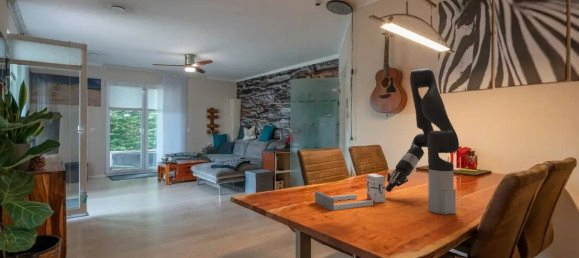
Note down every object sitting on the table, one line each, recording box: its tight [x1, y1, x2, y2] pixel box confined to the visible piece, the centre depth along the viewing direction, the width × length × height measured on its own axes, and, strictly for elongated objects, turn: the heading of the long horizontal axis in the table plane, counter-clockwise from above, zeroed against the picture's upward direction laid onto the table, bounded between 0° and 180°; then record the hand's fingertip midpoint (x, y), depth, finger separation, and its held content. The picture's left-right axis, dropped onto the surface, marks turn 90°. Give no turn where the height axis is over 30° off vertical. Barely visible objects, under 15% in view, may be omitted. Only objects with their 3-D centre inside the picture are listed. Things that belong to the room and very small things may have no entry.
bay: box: [314, 190, 374, 211], centre depth 135 cm, size 14×22×5 cm, turn 112°
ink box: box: [366, 173, 386, 203], centre depth 141 cm, size 9×5×12 cm, turn 17°
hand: (387, 190), depth 144 cm, fingers closed
